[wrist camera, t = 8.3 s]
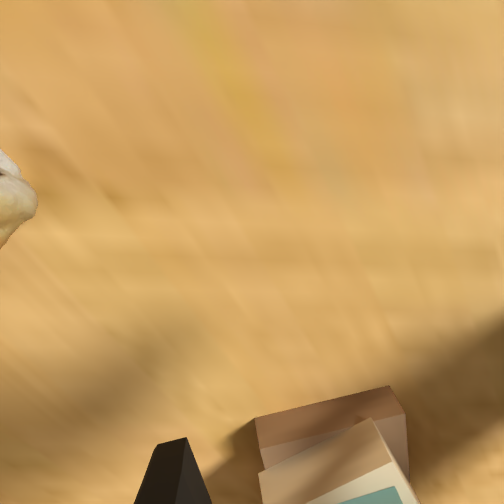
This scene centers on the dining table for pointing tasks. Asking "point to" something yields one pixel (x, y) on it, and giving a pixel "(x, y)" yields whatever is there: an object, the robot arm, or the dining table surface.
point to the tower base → (333, 425)
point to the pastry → (14, 198)
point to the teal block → (378, 498)
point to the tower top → (337, 471)
